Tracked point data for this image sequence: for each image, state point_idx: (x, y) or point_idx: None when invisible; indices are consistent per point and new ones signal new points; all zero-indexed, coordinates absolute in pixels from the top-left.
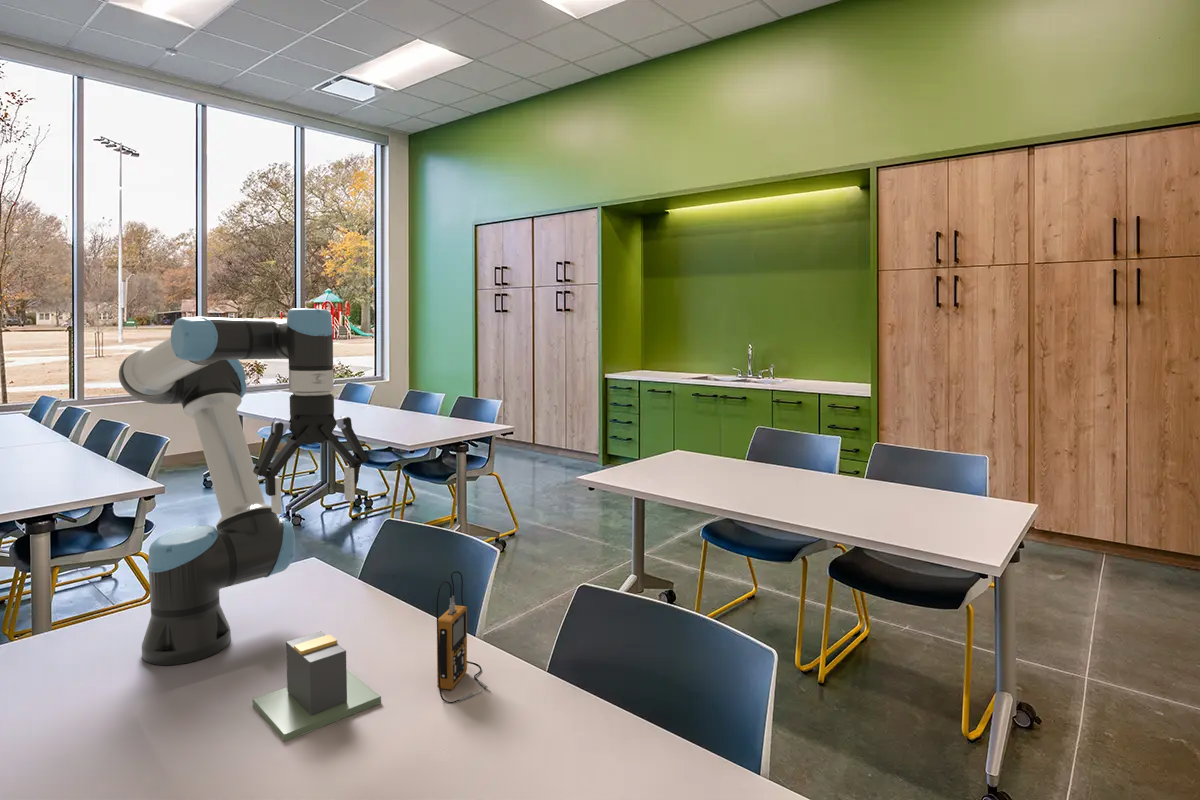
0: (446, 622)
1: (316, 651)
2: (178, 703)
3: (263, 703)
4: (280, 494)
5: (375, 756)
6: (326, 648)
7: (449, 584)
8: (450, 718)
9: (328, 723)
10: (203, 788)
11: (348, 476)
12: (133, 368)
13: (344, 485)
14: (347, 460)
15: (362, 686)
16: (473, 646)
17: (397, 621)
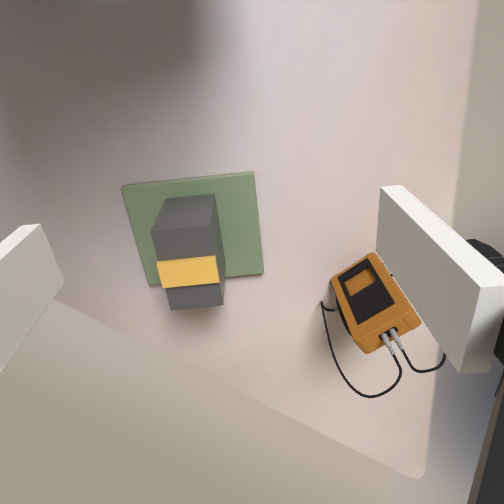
0: (361, 349)
1: (186, 286)
2: (22, 112)
3: (133, 208)
4: (19, 342)
5: (222, 342)
6: (201, 285)
7: (398, 377)
8: (308, 329)
9: None
10: (74, 306)
11: (434, 305)
12: None
13: (410, 218)
14: (495, 403)
15: (254, 240)
16: (440, 205)
17: (419, 17)
